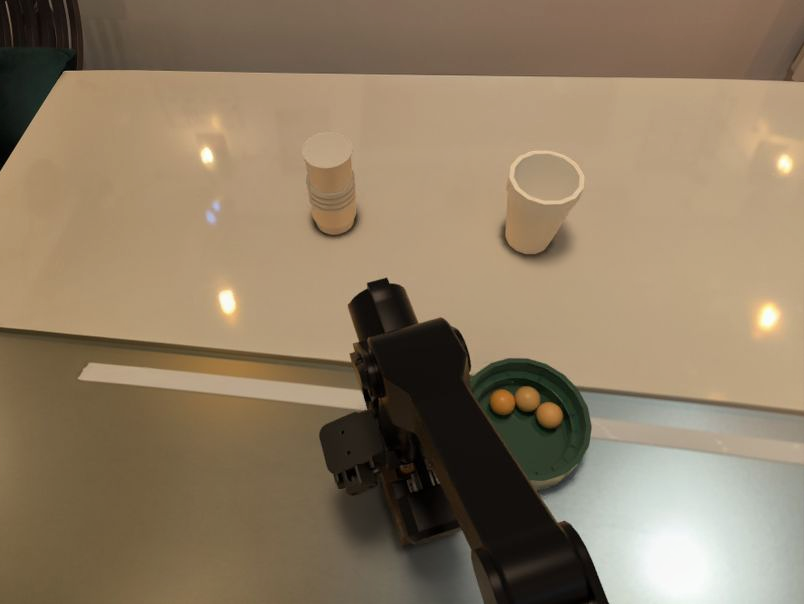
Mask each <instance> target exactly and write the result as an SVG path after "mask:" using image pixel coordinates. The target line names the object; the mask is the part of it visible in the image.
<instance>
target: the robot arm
mask: <svg viewBox="0 0 804 604" xmlns="http://www.w3.org/2000/svg"><path fill="white" fill-rule="evenodd" d="M347 310H348V313H349V316H350V319H351V322H352V325H353V328H354V331H355V334H356V337H357V342H353V343H352V348H353V350H354V351H352V352H349V358H350V362H351V366H352V368H353V370H354V373H355V376H356V380H357V382H358V386H359V389H360V392H361V394H362V396H363V400H364V404H365V406H366V409H365V410H361V411H359V412H358V411H354V412H350V413H349V414H346V415H344V416H341V417H339V418H337V419H334V420H332V421H329V422H327V423H325V424H324V425H322V427H321V428H320V429H319V432H318V437H319V442H320V446H321V450H322V454H323V457H324V461H325V465H326V468H327V471H328V472H329V473H330V474H332V476H333V479H334V480H333V481H334V483H335V484H336V487H337V490H345V494H346V495H348V496H350V497H357V496H359V495H362V494H364V493H367V492H370V491H371V490H374V489H376V488H378V487H379V486H380V482H379V479H378V476H380V474H381V473H383V470H382V467H384V466H386V468H387V471H389V470H392V469H395V470H396V469H399V467H401V468H406V467H408V466H410V465H411V463H413V466H414V469H415V470H414V473H413V474H411V477H408V478H405V479H401V480H399V479H398V481H395V482H391V486H392V489H393V493H394V496H395V499H396V502H397V506H398V510H399V514H400V517H401V520H402V523H403V526H404V530H405V533H406V536H407V539H408V541H409V542H411V543H410V544H413V545H415V546H417V545H421V544H425V543H428V542H430V541H433V540H437V539H440V538H444V537H447V536H450V535H453V534H455V533H456V534H457V533H459V532H462V534H463V536H464V537H465V540H466V542H467V544H468V546H469V549H470V559H471V564H472V568H473V569H472V570H473V572H474V576H475V580H476V583H477V586H478V589H479V593H480V595H481V598H482V601H483V602H482V603H483V604H610V602H609V600H608V597H607V595H606V593H605V592H606V591H605V590H604V587H603V584H602V582H601V579H600V577H599V574H598V572H597V571H598V570H597V569H596V566H595V563H594V561H593V559H592V557H591V554H590V552H589V550H588V548H587V545H586V544H585V543H584V540H583V539H582V537H581V536H580V534H579V532H578V531H577V530H576V529H575V528H574V526H573V525H572V524H571V523H569V522H568V521H566V520H563V521H559V522H558V521H557V519H556V518H555V516H554V515H553V514H552V512H551V510H550V509H549V508H548V506H547V504H546V503H545V502H544V499H542V497H541V495H540V494H539V492H538V491H536V489H535V488H534V486H533V485H532V483H531V482H530V480H529V479H528V477H527V476H526V474H525V473H524V471H523V470H522V468H521V467H520V465H519V463H518V462H517V460H516V459H515V457H514V456H513V454H512V453H511V451H510V450H509V448H508V447H507V445H506V444H505V442H504V441H503V439H502V438H501V436H500V435H499V433H498V432H497V430H496V429H495V427H494V426H493V424H492V423H491V421H490V420H489V418H488V417H487V415H486V414H485V412H484V411H483V409H482V407H481V406H480V404H479V403H478V401H477V400H476V398H475V397H474V395H473V394H472V391H471V383H470V381H471V376H470V373H471V371H472V362H471V361H472V360H471V356H470V351H469V348H468V346H467V343H466V340H465V338H464V337H463V334H462V332H460V330H459V329H458V328H457V327H455V326H452V325H451V324H450V323H449V321H447V319H445V318H444V317H441V316H440V317H436V318H433V319H429V320H426V321H421V322H419V320H418V317H417V315H416V312H415V310H414V308H413V305H412V303H411V299H410V297H409V295H408V292H407V290H406V289H405V287H404V286H403V285H401V284H398V283H395V282H394V283H391V282H390V281H389V278H388V277H383V278H379V279H375V280H371V281H368V282H366V288H365V289H363V290H362V291H360V292H358V293H357V294H356V295H354V296H353V298H352V299H351V300H350V302H349V303H347ZM425 459H427V460H426V462H428V463H429V464H427V466H429V467H430V468H429V469H427V466H426V464H425V461H424V460H425Z"/></svg>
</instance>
